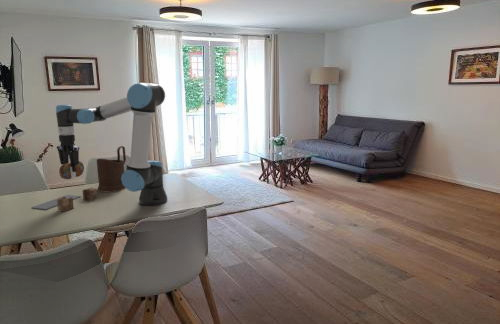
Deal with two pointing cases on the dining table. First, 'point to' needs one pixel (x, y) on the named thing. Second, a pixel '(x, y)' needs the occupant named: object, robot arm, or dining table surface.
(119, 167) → the brown tapered container
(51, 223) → the dining table surface
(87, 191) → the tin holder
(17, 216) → the dining table surface
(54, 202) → the mat
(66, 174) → the tin
